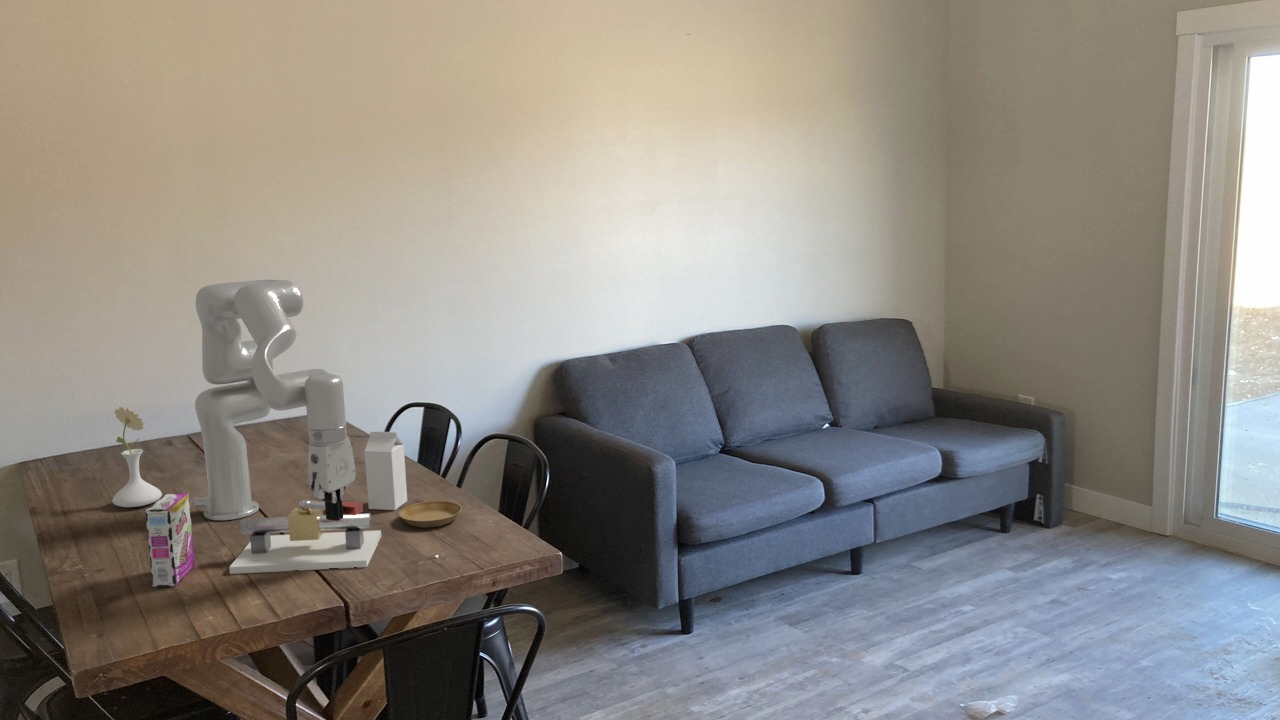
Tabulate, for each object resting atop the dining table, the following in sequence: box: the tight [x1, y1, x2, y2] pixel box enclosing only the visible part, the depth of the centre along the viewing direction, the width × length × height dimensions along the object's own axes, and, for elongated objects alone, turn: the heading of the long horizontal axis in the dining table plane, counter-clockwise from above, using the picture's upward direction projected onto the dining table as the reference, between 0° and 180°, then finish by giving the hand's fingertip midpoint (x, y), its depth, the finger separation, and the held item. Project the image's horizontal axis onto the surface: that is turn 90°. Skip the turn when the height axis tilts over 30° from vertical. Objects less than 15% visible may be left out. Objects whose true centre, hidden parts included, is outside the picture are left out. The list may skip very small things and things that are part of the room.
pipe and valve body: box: [239, 506, 372, 554], centre depth 215 cm, size 27×6×9 cm, turn 95°
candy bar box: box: [144, 493, 196, 588], centre depth 204 cm, size 11×5×16 cm, turn 5°
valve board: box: [228, 529, 382, 575], centre depth 216 cm, size 28×18×2 cm, turn 95°
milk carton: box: [364, 430, 408, 511], centre depth 246 cm, size 7×7×19 cm
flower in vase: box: [112, 406, 163, 508], centre depth 251 cm, size 13×11×25 cm
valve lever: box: [298, 499, 364, 516], centre depth 212 cm, size 3×15×2 cm, turn 72°
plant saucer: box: [398, 500, 463, 529], centre depth 236 cm, size 15×15×3 cm
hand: (334, 518), depth 208 cm, fingers closed
